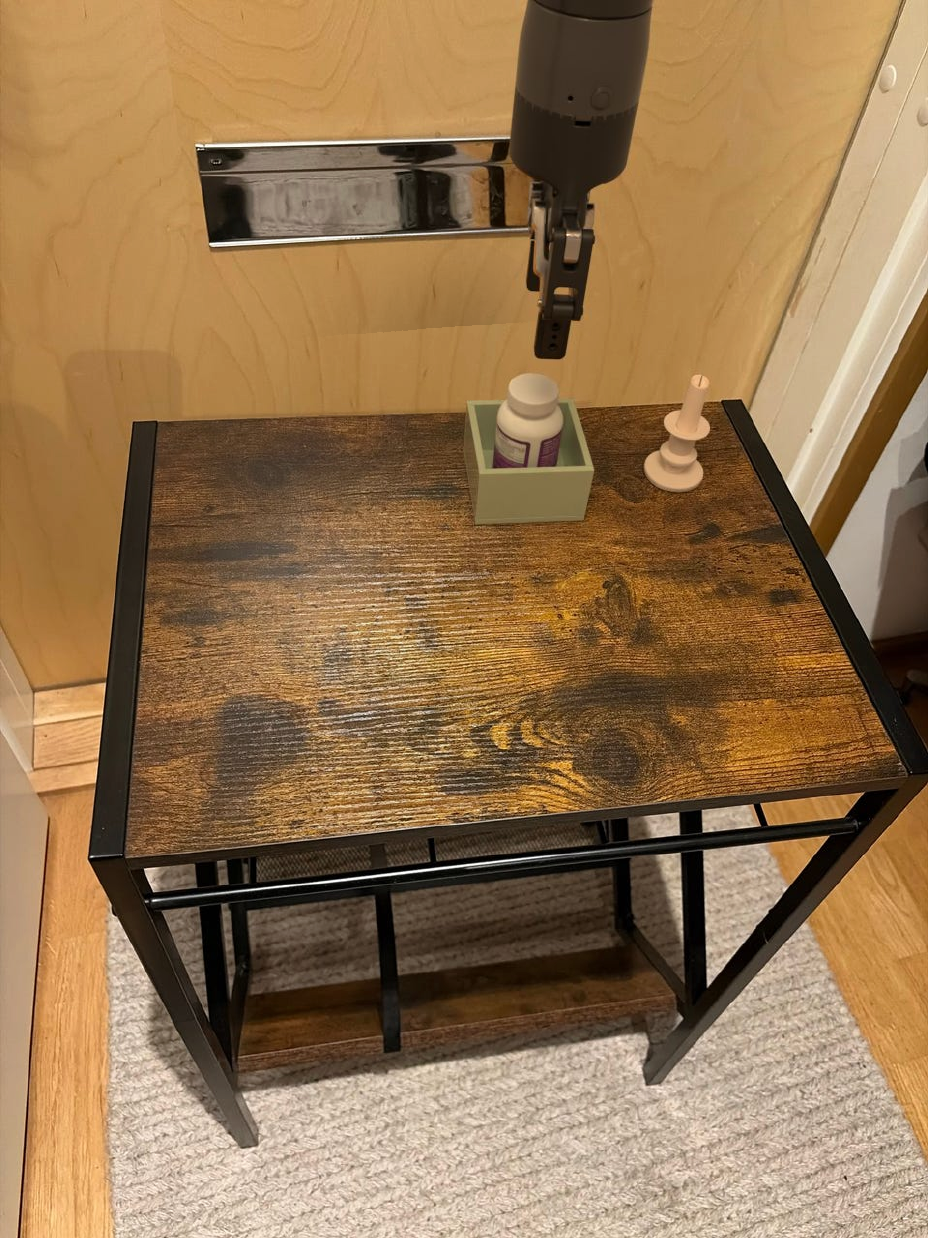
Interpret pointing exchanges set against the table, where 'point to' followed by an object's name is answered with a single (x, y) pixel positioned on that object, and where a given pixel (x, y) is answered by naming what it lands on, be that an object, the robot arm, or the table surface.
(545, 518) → the green open box
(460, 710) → the table surface
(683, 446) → the candle
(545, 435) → the pill bottle
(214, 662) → the table surface
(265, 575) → the table surface
